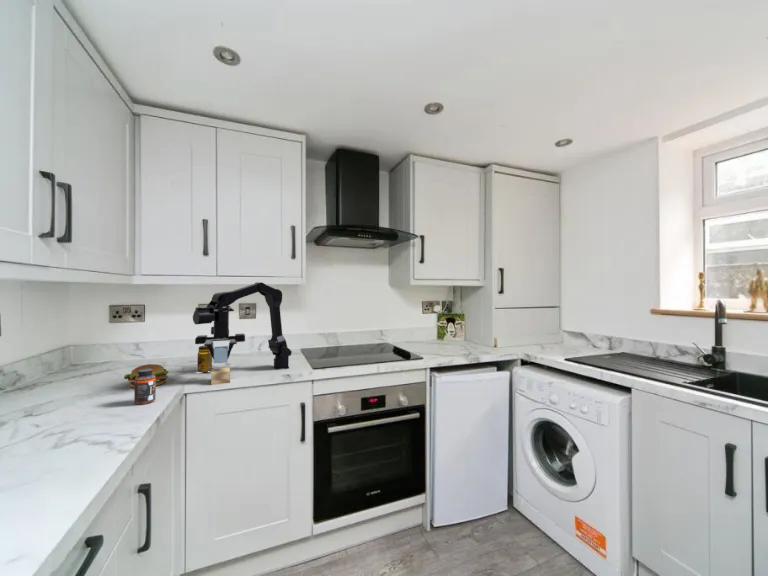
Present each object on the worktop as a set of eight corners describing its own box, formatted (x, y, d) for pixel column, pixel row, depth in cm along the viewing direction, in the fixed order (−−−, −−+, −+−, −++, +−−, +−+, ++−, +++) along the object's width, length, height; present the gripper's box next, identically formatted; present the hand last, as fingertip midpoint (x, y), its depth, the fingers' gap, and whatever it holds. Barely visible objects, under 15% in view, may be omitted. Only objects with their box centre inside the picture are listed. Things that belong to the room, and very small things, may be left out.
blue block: (227, 359, 140) (227, 346, 140) (227, 362, 135) (227, 348, 135) (214, 360, 138) (215, 346, 138) (213, 363, 133) (213, 349, 133)
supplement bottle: (157, 402, 112) (157, 370, 112) (135, 406, 108) (135, 373, 107) (153, 397, 116) (154, 366, 116) (133, 401, 112) (133, 369, 112)
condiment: (193, 373, 148) (193, 347, 148) (203, 368, 157) (203, 344, 157) (208, 373, 148) (209, 347, 148) (218, 368, 157) (218, 344, 157)
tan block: (229, 378, 141) (229, 367, 141) (230, 383, 135) (230, 371, 135) (211, 380, 138) (211, 369, 138) (211, 385, 132) (211, 373, 132)
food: (155, 377, 141) (156, 359, 141) (174, 382, 135) (174, 363, 135) (118, 386, 129) (118, 366, 129) (136, 391, 122) (137, 371, 122)
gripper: (245, 319, 147) (244, 353, 147) (198, 321, 140) (198, 356, 140) (245, 322, 137) (244, 358, 137) (195, 324, 130) (194, 362, 130)
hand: (221, 358), depth 136 cm, fingers closed on blue block, 5 cm apart
